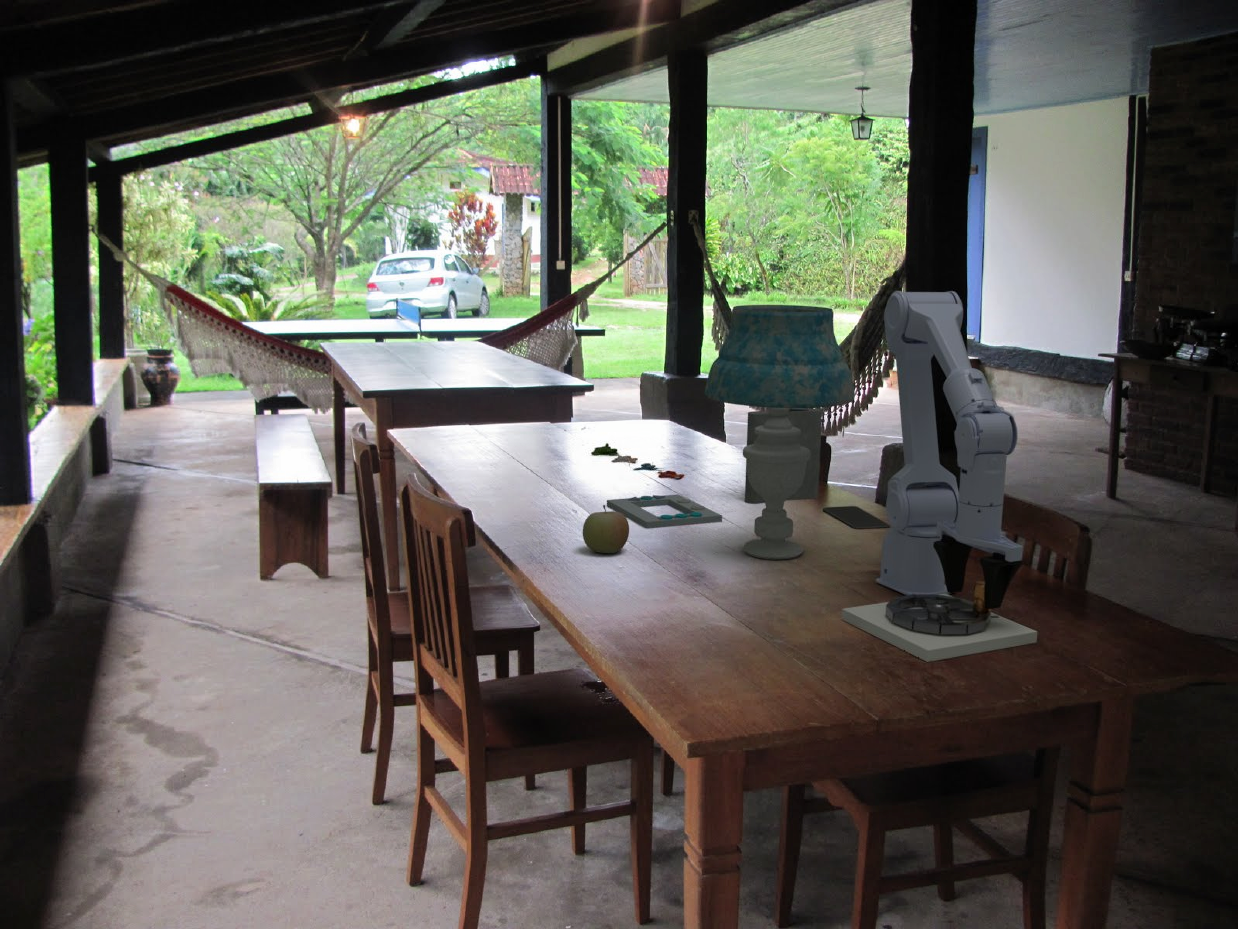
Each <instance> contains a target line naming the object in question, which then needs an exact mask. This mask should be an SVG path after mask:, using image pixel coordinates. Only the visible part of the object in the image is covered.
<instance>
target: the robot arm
mask: <svg viewBox="0 0 1238 929" xmlns="http://www.w3.org/2000/svg"><path fill="white" fill-rule="evenodd" d="M963 306H964V305H963V302H962V300H961V299H960V296H959V295H958V293H957V292H956V291H953V290H951V291H950V290H948V291H944V292H943V291H942V292H941V291H940V292H939V291H938V292H937V291H933V292H932V291H902V290H895V291H893V292H892V293H891V294H890V296H889V298H888V300H887V302H886V307H885V309H884V312H883V319H884V320H883V321H884V332H885V342H886V349H887V351H889V352H891V353H892V354H894V355H895V365H896V373H897V374H896V375H897V376H896V377H897V387H898V388H897V389H898V399H899V402H898V403H899V413H900V426H901V435H902V449H903V450H902V451H903V459H904V466H903V467H902V468H901V469H900V470H898V471H897V472H896V473H895V474H894V475H892V476H891V477H890V479H889V480H888V481H887V497H886V503H885V509H886V510H885V512H886V518H887V520H888V524H889V525H890V528H888V529H887V531H886V532H885V534H884V536H883V539H882V543H881V561H880V577H877V578H876V579H875V582H876V583H878V584H879V585H882V586H885V587H887V588H889V589H890V590H891V589H892V590H894V591H897V592H898V593H901V594H903V595H904V596H906V595H912V594H935V595H939V594H948V595H950V594H955V593H960V592H961V593H962V591H963V589H964V584H965V578H966V568H967V564H968V560H969V557H970V555H971V551H972V549H973V548H975V549H978V550H980V551H984V552H987V553H989V554H991V555H992V556H985V557H980V558H979V563H980V566H981V568H982V572H983V579H984V580H983V581H984V582H985V607H986V608H987V609H992V610H993V609H1000V608H1001V606H1002V604H1003V600H1004V598H1005V595H1006V593H1007V590H1008V588H1009V585H1010V584H1011V581H1012V580H1013V579H1014V576H1015V575H1016V574H1017V572H1018V571H1019V569H1020V568H1021V567H1022V565H1023V558H1022V557H1023V546H1022V545H1021V544H1018V543H1016V542H1014V541H1012V540H1011V539H1010V538H1008V537H1006V535H1005V534H1006V532H1005V531H1002V521H1003V519H1002V518H1003V508H1004V498H1005V497H1004V495H1005V484H1006V483H1005V482H1006V472H1007V471H1006V468H1007V460H1008V456H1009V455H1012V453H1014V451H1015V449H1016V447H1017V443H1018V436H1019V435H1018V426H1017V422H1016V420H1015V417H1014V415H1013V413H1011V412H1009V411H1007V410H1005V409H1004V407H1003V406H999V405H998V403H997V401H996V400H995V397H994V395H993V392H992V390H991V388H990V385H989V383H988V381H987V379H986V377H985V374H984V373H983V372H982V370H979V369H977V368H973V367H972V365H971V361H970V357H969V355H968V351H967V348H966V345H965V342H964V339H963V335H962V332H961V329H962V324H963V318H964V308H963ZM933 356H934V357H935V359H936V361H937V362H938V364H939V366H940V367H941V369H942V371H943V373H944V375H945V377H946V379H945V381H944V382H943V387H942V390H943V393H944V395H945V398H946V400H947V404H948V405H949V407H950V410H951V413H952V414H953V417H954V419H955V422H956V428H955V430H954V444H955V448H956V452H957V457H956V458H957V459H956V460H957V466H958V467H959V468H960V475H959V486H958V481H957V477H956V476H955V475H954V474H953V473H952V472H950V471H949V470H948V469H946V468H945V467H944V466H943V465H941V463H940V453H939V444H938V430H937V420H936V419H937V418H936V408H935V397H934V383H933V373H932V362H931V361H932V358H933ZM915 486H916V487H915ZM917 486H918V487H917ZM919 486H923V487H919ZM924 486H925V487H924ZM927 486H928V487H927ZM958 487H959V488H958ZM891 526H892V527H891Z"/></svg>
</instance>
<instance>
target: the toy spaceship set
mask: <svg viewBox="0 0 1238 929" xmlns="http://www.w3.org/2000/svg"><path fill="white" fill-rule="evenodd" d="M609 444H610V443H608V442H606V443H605V444H604V445H603V446H597V447H594V450H593V451H592V452H591V456H607V455H608V456H610V455H614V456H615V455H616V456H617V457H615V458H614V459H612V460H611V463H615V464H616V463H628V462H631V463H632V462H637V461H638V458H637V457H632V455H627V454H625V455H624V456H623V455H620V453H618V448H615V447H614V448H612V447H611V446H610V445H609ZM656 466H657V465H655V464H654V463H652V464H651V463H650V462H645V463H642V464H640V467H635V468H633V470H634V471H641V470H642V471H643V470H646V471H649V470H660V469H664V467H661V468H658V467H656ZM656 474H658V476H657V477H658V478H660V479H683V477H685V474H683V473H681V474H677V473H676V471H674V470H665V471H661V470H660V471H658V472H656Z"/></svg>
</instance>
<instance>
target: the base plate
mask: <svg viewBox="0 0 1238 929" xmlns="http://www.w3.org/2000/svg"><path fill="white" fill-rule="evenodd" d="M939 595H944V596H950V597H954V596H952V595H950V594H939ZM889 602H890V601H886V602H881V603H873V604H866V605H859V606H853V607H845V608H841V620H842V621H844V622H846V623H848V624H851V625H852V626H854V627H856V628H858V629H860V630H863V631H864V632H866V633H868V634H870V635H871V636H872V635H873V636H874V637H876V638H878V639H881V640H882V641H885V642H886V643H888V644H890V645H892V646H895V647H897V649H899V650H900V649H901V650H902V651H904V650H905V652H906V653H908V654H911V655H912V656H915V657H917V658H918V657H919V658H918V659H921V660H922V661H925V662H926V663H929V662H935V661H940V660H946V659H953V658H958V657H963V656H968V655H976V654H980V653H986V652H992V651H996V650H1002V649H1008V648H1013V647H1019V646H1025V645H1026V646H1027V645H1030V644H1035V643H1037V642H1038V641H1037V640H1038V631H1037V630H1035V629H1032V628H1030V627H1027V626H1025V625H1023V624H1019V623H1017V622H1015V621H1013V620H1010V619H1008V618H1005V617H1003V616H1001V615H998V614H996V613H993V612H991V611H989V612H990V613H991V620H990V623H989V625H988V626H987V628H986V629H985V630H982V631H978V632H974V633H970V634H935V633H929V632H922V631H916V630H913V629H912V630H911V629H909V628H906V627H904V626H901V625H898V624H896V623H893V622H892V621H891V620H890V619H889V618H888V616H887V615H886V605H887V604H888V603H889ZM901 609H926V608H925V607H924V606H923V605H914V606H910V607H906V608H901ZM950 609H957V608H950ZM917 619H922V620H928V621H933V620H929V619H927V618H917ZM950 619H951V620H952V621H953V622H965V621H969V620H973V619H977V618H950ZM935 622H938V621H935Z"/></svg>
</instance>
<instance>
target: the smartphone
mask: <svg viewBox="0 0 1238 929" xmlns="http://www.w3.org/2000/svg"><path fill="white" fill-rule="evenodd" d="M822 513H824V514H827V515H828V516H830V517H832V518H834V519H835V520H837V521H839V522H840V523H842V524H844V525H846V526H848V527H849V528H851V529H853V530H874V529H876V530H877V529H878V530H879V529H890V528H891V524H890V523H887V522H885V521H884V520H882V519H880V518H879V517H876V516H875V515H873V514H871V513H869V512H868V511H866V510H864V509H863V508H861V507H859V506H856V505H843V506H827V507H826V506H825V507H823V508H822Z"/></svg>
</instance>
